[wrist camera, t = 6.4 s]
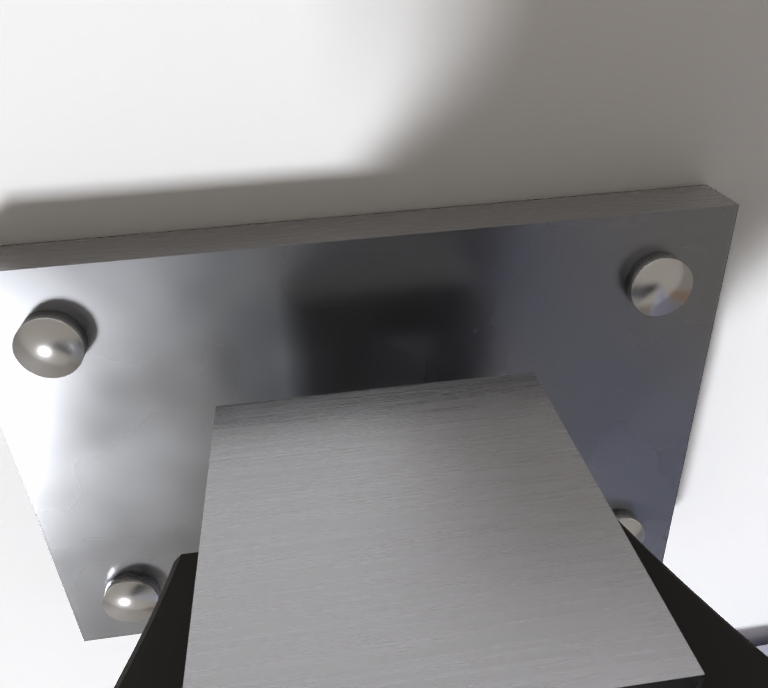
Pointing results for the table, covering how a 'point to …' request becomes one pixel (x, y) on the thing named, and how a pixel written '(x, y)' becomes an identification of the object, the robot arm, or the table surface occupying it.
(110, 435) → the plate
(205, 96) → the table surface
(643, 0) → the table surface
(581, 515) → the tube
